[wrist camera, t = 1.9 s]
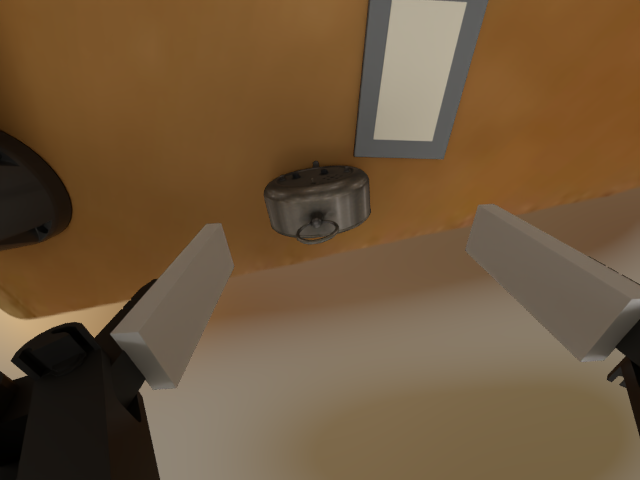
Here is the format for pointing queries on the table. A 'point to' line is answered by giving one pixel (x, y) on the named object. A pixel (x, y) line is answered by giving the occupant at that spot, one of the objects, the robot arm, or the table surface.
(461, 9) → the mat
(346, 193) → the alarm clock
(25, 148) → the robot arm
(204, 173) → the table surface
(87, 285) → the table surface
